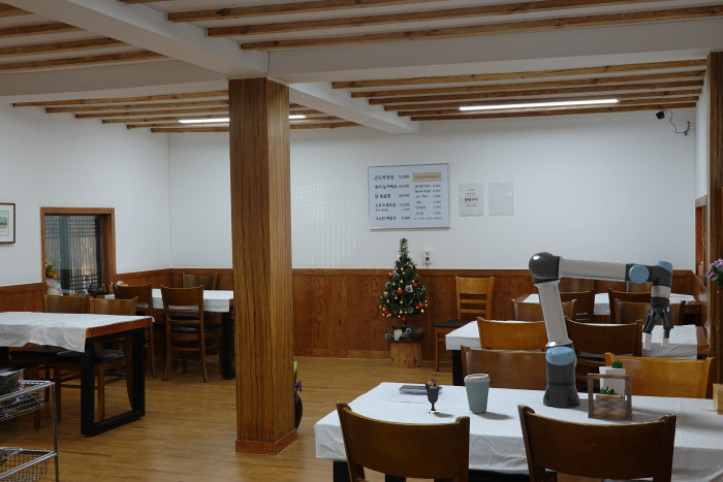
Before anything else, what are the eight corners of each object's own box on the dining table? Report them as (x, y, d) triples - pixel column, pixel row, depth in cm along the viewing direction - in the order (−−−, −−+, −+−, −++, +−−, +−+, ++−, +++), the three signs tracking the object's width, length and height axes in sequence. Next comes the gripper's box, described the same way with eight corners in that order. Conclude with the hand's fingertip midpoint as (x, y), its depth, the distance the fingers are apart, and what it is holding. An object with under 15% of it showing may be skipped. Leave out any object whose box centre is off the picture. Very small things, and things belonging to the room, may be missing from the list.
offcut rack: (588, 417, 296) (587, 374, 296) (590, 414, 301) (589, 372, 302) (631, 420, 289) (630, 376, 289) (633, 417, 295) (632, 374, 295)
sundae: (442, 410, 314) (442, 374, 315) (439, 414, 308) (438, 376, 308) (427, 410, 316) (426, 373, 317) (423, 413, 310) (422, 376, 310)
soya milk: (629, 414, 299) (627, 363, 300) (606, 415, 299) (605, 364, 299) (619, 410, 308) (618, 360, 308) (597, 411, 307) (596, 361, 308)
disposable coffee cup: (474, 415, 303) (473, 377, 304) (459, 411, 313) (458, 374, 313) (496, 412, 308) (495, 375, 309) (480, 408, 318) (479, 372, 318)
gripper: (685, 295, 309) (681, 347, 304) (652, 303, 333) (648, 352, 328) (668, 291, 308) (663, 343, 303) (636, 300, 332) (631, 348, 327)
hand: (655, 347), depth 315 cm, fingers open, 13 cm apart
